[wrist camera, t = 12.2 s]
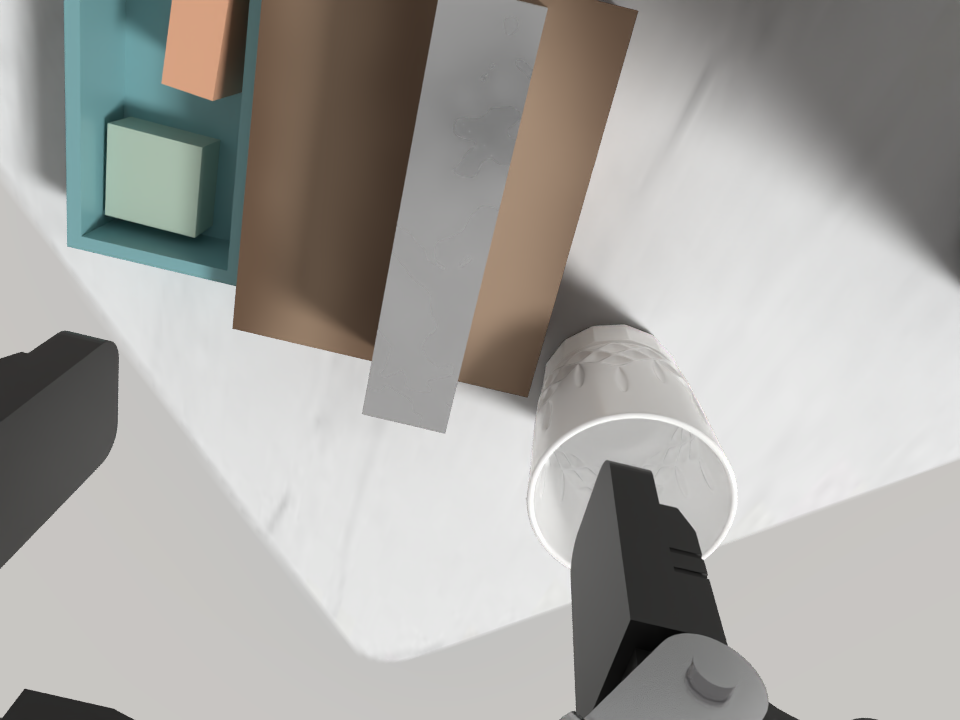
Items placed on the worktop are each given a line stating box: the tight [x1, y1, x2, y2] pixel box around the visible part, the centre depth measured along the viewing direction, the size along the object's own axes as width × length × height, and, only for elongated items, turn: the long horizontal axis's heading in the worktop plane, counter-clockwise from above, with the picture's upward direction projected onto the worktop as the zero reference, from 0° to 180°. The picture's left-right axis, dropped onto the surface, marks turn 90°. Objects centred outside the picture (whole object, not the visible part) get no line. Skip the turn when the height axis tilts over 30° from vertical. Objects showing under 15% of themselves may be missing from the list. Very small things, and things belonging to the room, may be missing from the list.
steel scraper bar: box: [362, 0, 548, 433], centre depth 26 cm, size 3×14×5 cm, turn 167°
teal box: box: [64, 0, 262, 286], centre depth 32 cm, size 8×13×4 cm, turn 167°
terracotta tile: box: [161, 0, 250, 101], centre depth 30 cm, size 4×4×2 cm
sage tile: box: [105, 117, 220, 238], centre depth 34 cm, size 4×4×2 cm
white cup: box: [527, 324, 738, 570], centre depth 33 cm, size 8×8×10 cm
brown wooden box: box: [233, 0, 638, 397], centre depth 31 cm, size 12×15×6 cm
